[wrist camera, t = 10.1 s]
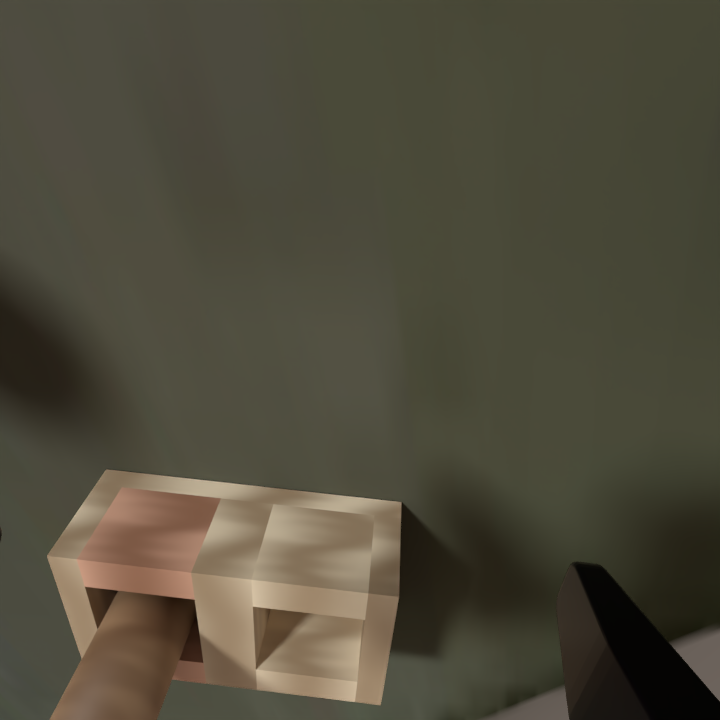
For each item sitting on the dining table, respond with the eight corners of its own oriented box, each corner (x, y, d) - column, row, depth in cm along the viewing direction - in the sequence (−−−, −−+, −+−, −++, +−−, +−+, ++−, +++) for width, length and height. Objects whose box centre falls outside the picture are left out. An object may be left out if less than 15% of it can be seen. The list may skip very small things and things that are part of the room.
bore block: (401, 502, 26) (398, 596, 22) (385, 608, 30) (380, 705, 26) (106, 469, 26) (46, 555, 22) (131, 578, 30) (85, 668, 26)
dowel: (213, 530, 26) (115, 774, 18) (219, 579, 28) (132, 820, 20) (139, 522, 27) (7, 759, 18) (150, 570, 28) (34, 806, 20)
